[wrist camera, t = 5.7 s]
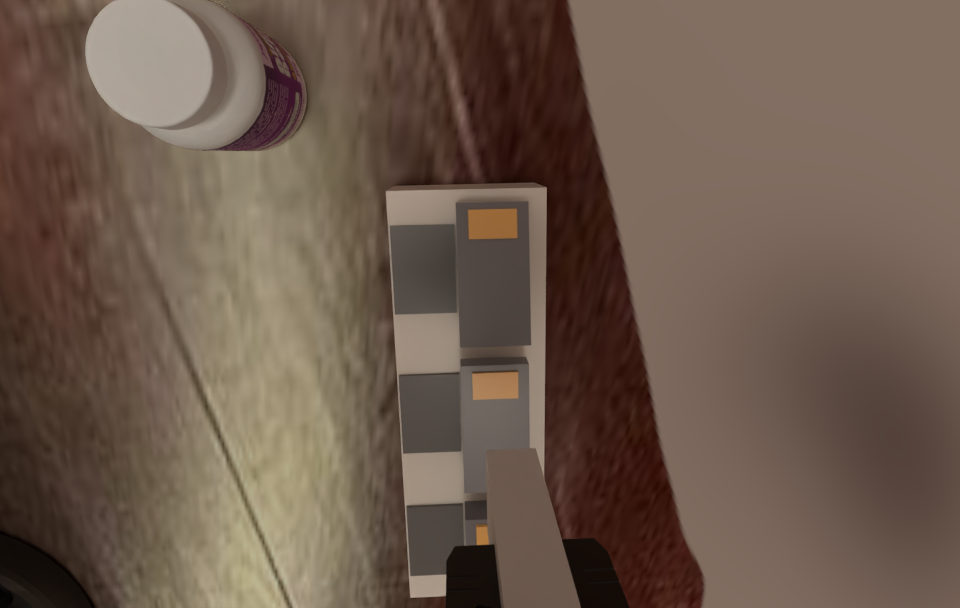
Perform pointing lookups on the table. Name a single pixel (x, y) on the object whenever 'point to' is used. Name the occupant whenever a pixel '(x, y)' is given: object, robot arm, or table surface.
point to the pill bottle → (195, 75)
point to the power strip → (447, 360)
